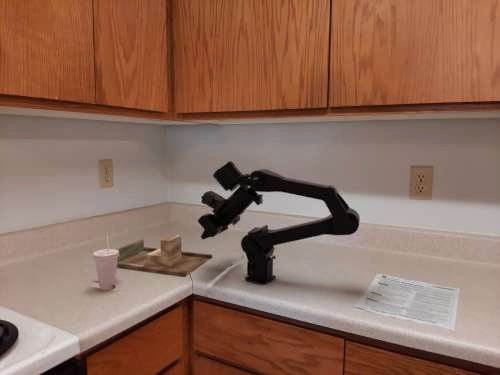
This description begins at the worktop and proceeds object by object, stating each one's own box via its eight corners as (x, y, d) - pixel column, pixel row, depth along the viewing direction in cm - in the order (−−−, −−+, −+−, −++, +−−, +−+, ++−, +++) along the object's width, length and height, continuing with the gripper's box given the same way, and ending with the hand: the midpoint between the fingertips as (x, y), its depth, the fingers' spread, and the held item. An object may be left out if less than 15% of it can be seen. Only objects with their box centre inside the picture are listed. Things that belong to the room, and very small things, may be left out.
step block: (181, 260, 114) (181, 235, 113) (169, 267, 107) (169, 240, 106) (159, 257, 117) (158, 233, 116) (146, 264, 110) (145, 238, 109)
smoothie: (124, 288, 96) (122, 236, 94) (100, 295, 91) (97, 240, 90) (114, 281, 100) (112, 231, 98) (90, 287, 96) (88, 235, 94)
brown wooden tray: (212, 262, 117) (212, 245, 116) (184, 282, 100) (184, 262, 99) (143, 254, 125) (142, 238, 124) (107, 271, 108) (106, 253, 107)
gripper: (230, 179, 112) (198, 212, 117) (204, 185, 94) (168, 224, 99) (254, 206, 110) (221, 238, 115) (232, 217, 93) (194, 255, 98)
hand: (202, 238), depth 107 cm, fingers closed
